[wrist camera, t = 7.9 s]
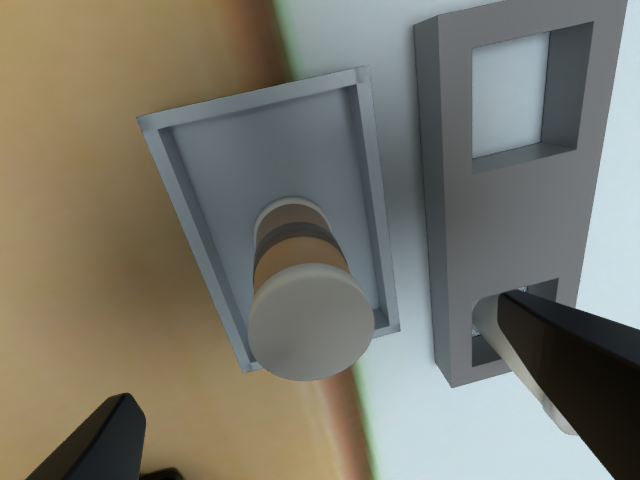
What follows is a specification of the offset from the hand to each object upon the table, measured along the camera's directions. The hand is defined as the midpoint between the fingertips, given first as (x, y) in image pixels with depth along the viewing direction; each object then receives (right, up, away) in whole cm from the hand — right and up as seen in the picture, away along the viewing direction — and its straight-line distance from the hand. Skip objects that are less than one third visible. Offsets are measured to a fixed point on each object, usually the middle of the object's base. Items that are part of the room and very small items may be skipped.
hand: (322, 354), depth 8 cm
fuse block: (+9, +4, +9) cm, 13 cm away
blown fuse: (-1, +3, +7) cm, 8 cm away
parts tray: (-1, +3, +8) cm, 8 cm away
